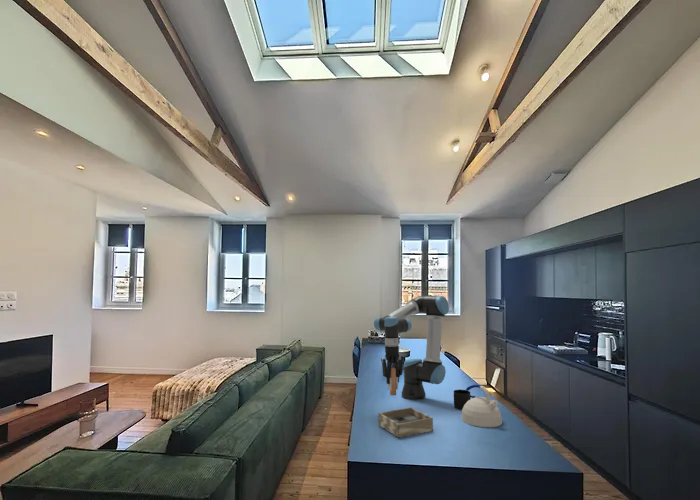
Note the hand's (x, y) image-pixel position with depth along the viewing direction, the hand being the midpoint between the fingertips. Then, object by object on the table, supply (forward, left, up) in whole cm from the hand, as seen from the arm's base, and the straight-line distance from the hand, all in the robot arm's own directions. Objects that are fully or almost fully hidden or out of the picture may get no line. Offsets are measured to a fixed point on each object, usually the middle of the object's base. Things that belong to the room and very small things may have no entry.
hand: (393, 389), depth 206 cm
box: (+16, -3, -14) cm, 22 cm away
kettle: (+25, +39, -15) cm, 48 cm away
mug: (+5, +46, -15) cm, 48 cm away
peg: (0, 0, -3) cm, 3 cm away
